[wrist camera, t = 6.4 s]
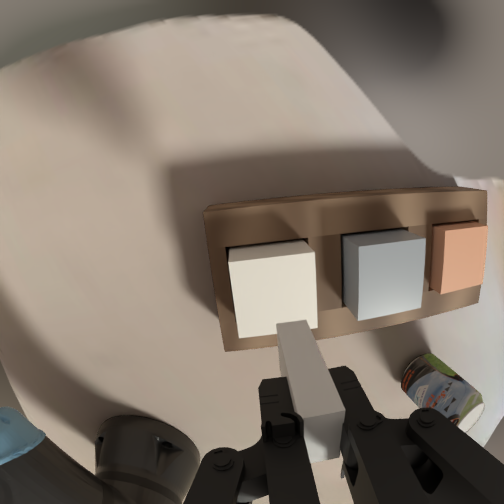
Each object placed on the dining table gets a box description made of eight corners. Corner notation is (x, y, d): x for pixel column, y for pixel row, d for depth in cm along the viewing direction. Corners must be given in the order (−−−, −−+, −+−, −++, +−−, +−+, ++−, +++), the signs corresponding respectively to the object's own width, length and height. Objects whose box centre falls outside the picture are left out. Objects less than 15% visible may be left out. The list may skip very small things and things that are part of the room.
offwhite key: (238, 314, 26) (239, 338, 22) (229, 247, 24) (228, 262, 20) (306, 305, 26) (317, 327, 22) (302, 239, 24) (314, 252, 21)
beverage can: (399, 355, 33) (447, 417, 21) (445, 342, 33) (497, 392, 21) (393, 393, 35) (431, 454, 23) (436, 378, 35) (480, 431, 23)
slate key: (342, 300, 26) (357, 321, 22) (340, 235, 24) (358, 246, 21) (399, 290, 26) (420, 307, 22) (401, 228, 25) (425, 238, 21)
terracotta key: (419, 280, 27) (440, 294, 24) (421, 222, 26) (445, 230, 22) (460, 271, 28) (482, 283, 24) (463, 218, 26) (487, 225, 22)
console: (226, 325, 31) (224, 351, 26) (208, 205, 28) (202, 212, 23) (453, 287, 31) (478, 302, 26) (458, 186, 28) (487, 190, 23)
